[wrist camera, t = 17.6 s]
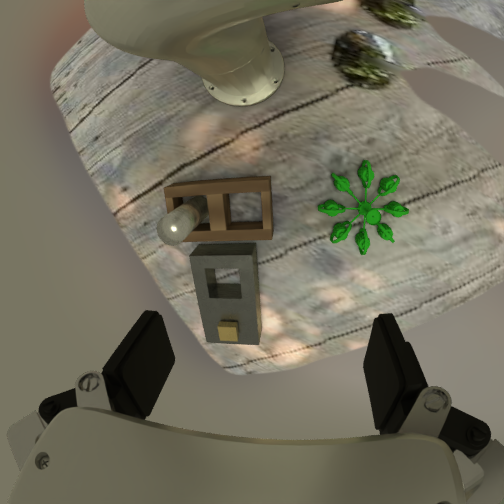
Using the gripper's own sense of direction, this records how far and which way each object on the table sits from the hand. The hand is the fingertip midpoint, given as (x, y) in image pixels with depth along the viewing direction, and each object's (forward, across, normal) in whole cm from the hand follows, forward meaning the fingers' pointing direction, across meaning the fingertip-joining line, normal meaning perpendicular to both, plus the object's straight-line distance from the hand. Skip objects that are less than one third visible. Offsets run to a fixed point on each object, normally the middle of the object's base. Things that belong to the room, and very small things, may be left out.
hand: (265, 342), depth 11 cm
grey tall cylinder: (+33, +14, +2) cm, 36 cm away
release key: (+33, +10, +23) cm, 41 cm away
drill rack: (+33, +10, +2) cm, 35 cm away
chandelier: (+34, -13, +2) cm, 36 cm away
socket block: (+33, +10, +18) cm, 39 cm away
